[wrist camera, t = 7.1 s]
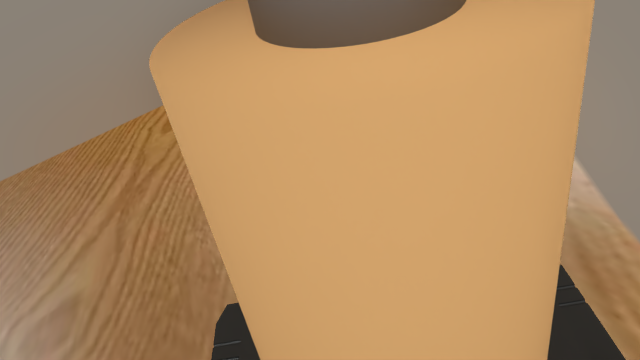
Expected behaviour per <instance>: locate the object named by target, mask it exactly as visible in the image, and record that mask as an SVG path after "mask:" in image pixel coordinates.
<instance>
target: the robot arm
mask: <svg viewBox="0 0 640 360" xmlns="http://www.w3.org/2000/svg"><path fill="white" fill-rule="evenodd" d="M211 360H260V357H259V355H258V352H257V349H256V347H255V344H254V342H253V339H252V336H251V334H250V331H249V328H248V326H247V323H246V320H245V318H244V315H243V313H242V310H241V307H240V305H239V303H234V304H229V305H227V306H226V308H225V310H224V311H223V313H222V315H221V316H220V318H219V320H218V322H217V323H216V329H215V337H214V348H213V352H212V359H211ZM547 360H625V358H624V357H623V355H622V354H621V352H620V351H619V349H618V348H617V346H616V345H615V343H614V342H613V340H612V339H611V337H610V336H609V334H608V333H607V331H606V330H605V328H604V327H603V325H602V324H601V323H600V321H599V320H598V318H597V317H596V315H595V314H594V312H593V311H592V309H591V308H590V306H589V305H588V303H586V302H585V299H584V297H583V296H582V294H581V293H580V291H579V290H578V288H575V284H574V283H573V281H572V280H571V278H570V277H569V275H568V274H567V272H566V271H565V269H564V268H563V266H562V265H560V266H559V274H558V281H557V289H556V296H555V304H554V311H553V319H552V326H551V334H550V341H549V349H548V357H547Z"/></svg>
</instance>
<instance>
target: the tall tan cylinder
mask: <svg viewBox="0 0 640 360" xmlns="http://www.w3.org/2000/svg"><path fill="white" fill-rule="evenodd" d="M594 3H595V0H225V1H222V2H220V3H218V4H216V5H214V6H211V7H209V8H207V9H205V10H203V11H201V12H199V13H197V14H196V15H194V16H192V17H190V18H189V19H187V20H185V21H184V22H182V23H181V24H179V25H177V26H176V27H175V28H174V29H172V30H171V31H170V32H168V33H167V34H166V35H165V36H164V37H163V38H162V39H161V40H160V41H159V42H158V43H157V45H156V46H155V48H154V49H153V51H152V54H151V56H150V59H149V64H150V71H151V73H152V76H153V79H154V81H155V84H156V86H157V89H158V92H159V94H160V97H161V100H162V102H163V105H164V107H165V110H166V113H167V115H168V118H169V121H170V123H171V126H172V129H173V131H174V134H175V136H176V139H177V142H178V144H179V147H180V150H181V152H182V155H183V157H184V160H185V163H186V165H187V168H188V171H189V173H190V176H191V178H192V181H193V184H194V186H195V189H196V192H197V194H198V197H199V200H200V202H201V205H202V207H203V210H204V213H205V215H206V218H207V221H208V223H209V226H210V228H211V231H212V234H213V236H214V239H215V242H216V244H217V247H218V249H219V252H220V255H221V257H222V260H223V263H224V265H225V268H226V271H227V273H228V276H229V278H230V281H231V284H232V286H233V289H234V292H235V294H236V297H237V299H238V302H239V305H240V307H241V310H242V313H243V315H244V318H245V320H246V323H247V326H248V328H249V331H250V334H251V336H252V339H253V342H254V344H255V347H256V349H257V352H258V355H259V357H260V360H547V357H548V349H549V341H550V334H551V326H552V319H553V311H554V304H555V296H556V289H557V281H558V274H559V266H560V259H561V251H562V244H563V236H564V229H565V221H566V214H567V206H568V199H569V191H570V184H571V176H572V169H573V161H574V154H575V146H576V139H577V130H578V124H579V116H580V109H581V101H582V94H583V86H584V78H585V71H586V63H587V56H588V49H589V41H590V34H591V26H592V19H593V11H594Z"/></svg>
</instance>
